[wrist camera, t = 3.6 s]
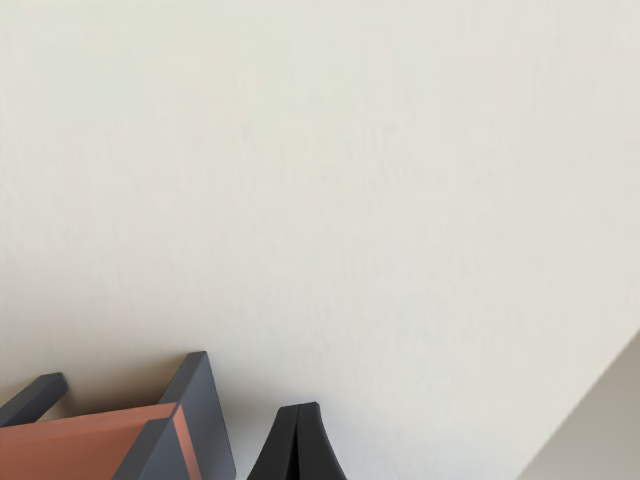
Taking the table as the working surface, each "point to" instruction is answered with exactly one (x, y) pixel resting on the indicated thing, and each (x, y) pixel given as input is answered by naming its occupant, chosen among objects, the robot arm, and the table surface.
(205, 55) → the table surface
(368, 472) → the table surface
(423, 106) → the table surface
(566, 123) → the table surface
